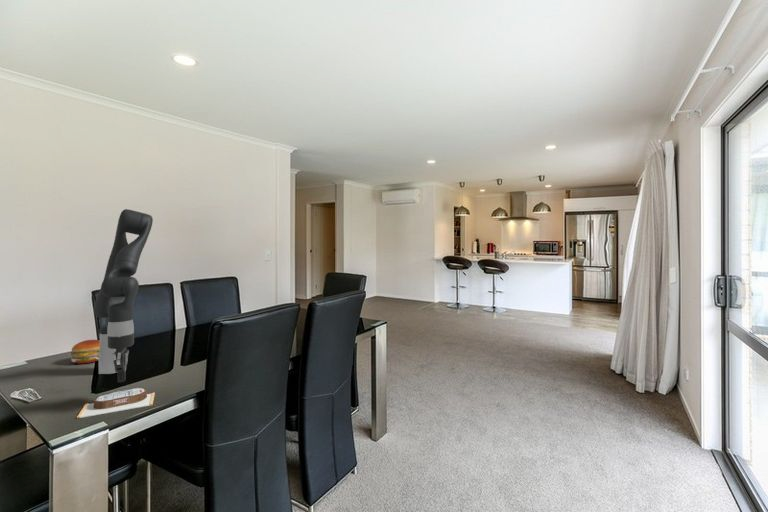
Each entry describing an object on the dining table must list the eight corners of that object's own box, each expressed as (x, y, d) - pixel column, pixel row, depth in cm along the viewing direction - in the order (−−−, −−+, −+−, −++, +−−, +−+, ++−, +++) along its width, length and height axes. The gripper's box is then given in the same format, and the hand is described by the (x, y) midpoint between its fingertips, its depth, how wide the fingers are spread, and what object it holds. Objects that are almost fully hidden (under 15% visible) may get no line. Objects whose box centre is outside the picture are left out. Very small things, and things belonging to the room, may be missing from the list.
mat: (76, 418, 111) (76, 417, 111) (85, 405, 121) (85, 403, 121) (152, 405, 121) (152, 403, 121) (154, 393, 131) (154, 392, 131)
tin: (94, 402, 122) (92, 413, 115) (94, 393, 122) (92, 404, 115) (146, 392, 131) (147, 401, 124) (146, 384, 131) (147, 393, 124)
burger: (82, 366, 161) (82, 345, 161) (63, 363, 165) (62, 342, 165) (113, 358, 174) (113, 338, 174) (94, 355, 178) (94, 335, 178)
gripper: (111, 330, 129) (111, 377, 129) (103, 338, 117) (104, 390, 117) (136, 328, 132) (136, 374, 133) (131, 335, 121) (131, 385, 121)
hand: (121, 381), depth 125 cm, fingers closed
